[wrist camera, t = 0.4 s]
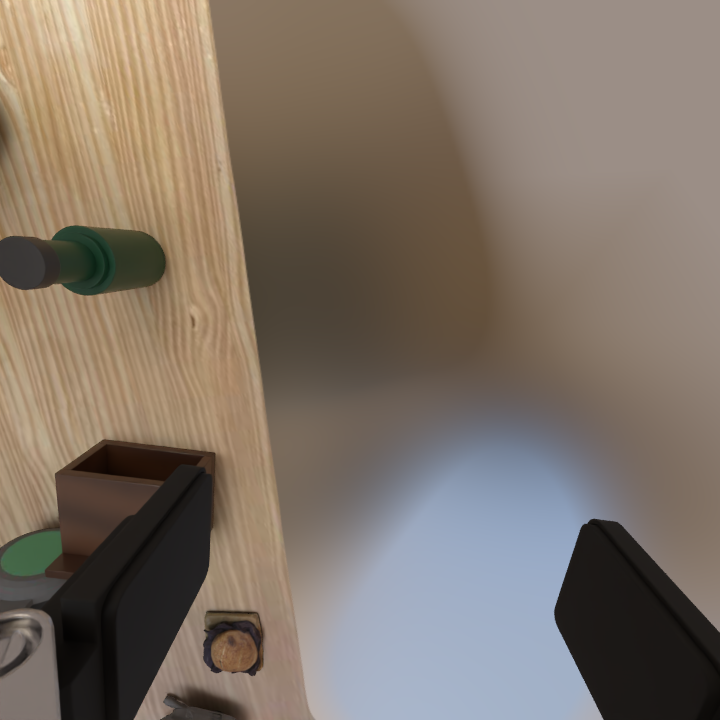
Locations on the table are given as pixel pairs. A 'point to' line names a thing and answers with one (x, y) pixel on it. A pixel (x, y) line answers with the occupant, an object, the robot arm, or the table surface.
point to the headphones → (29, 570)
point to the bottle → (83, 260)
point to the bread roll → (233, 642)
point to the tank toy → (192, 712)
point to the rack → (111, 493)
